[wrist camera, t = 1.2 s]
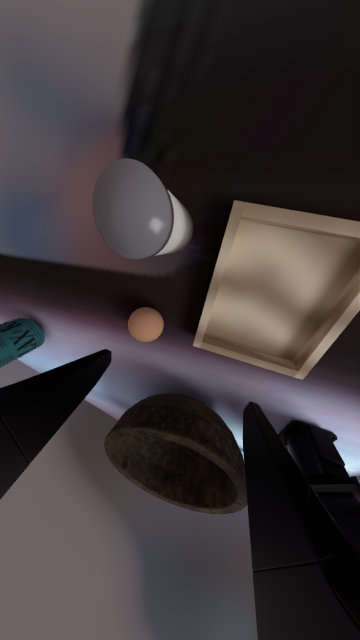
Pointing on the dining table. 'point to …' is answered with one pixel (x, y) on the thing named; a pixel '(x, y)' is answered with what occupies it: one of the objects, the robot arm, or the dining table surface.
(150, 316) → the ball
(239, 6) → the dining table surface
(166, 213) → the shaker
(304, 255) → the tray
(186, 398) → the bowl
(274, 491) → the robot arm
